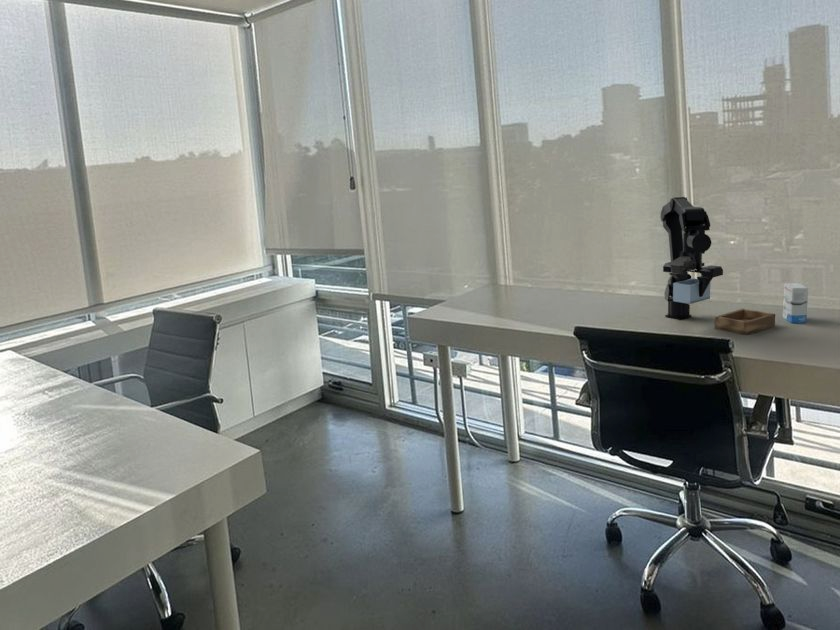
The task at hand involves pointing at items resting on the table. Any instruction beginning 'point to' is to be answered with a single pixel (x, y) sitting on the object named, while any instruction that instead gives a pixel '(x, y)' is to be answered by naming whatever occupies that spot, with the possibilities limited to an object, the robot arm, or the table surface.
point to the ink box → (795, 302)
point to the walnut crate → (745, 321)
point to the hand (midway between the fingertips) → (691, 295)
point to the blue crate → (689, 291)
